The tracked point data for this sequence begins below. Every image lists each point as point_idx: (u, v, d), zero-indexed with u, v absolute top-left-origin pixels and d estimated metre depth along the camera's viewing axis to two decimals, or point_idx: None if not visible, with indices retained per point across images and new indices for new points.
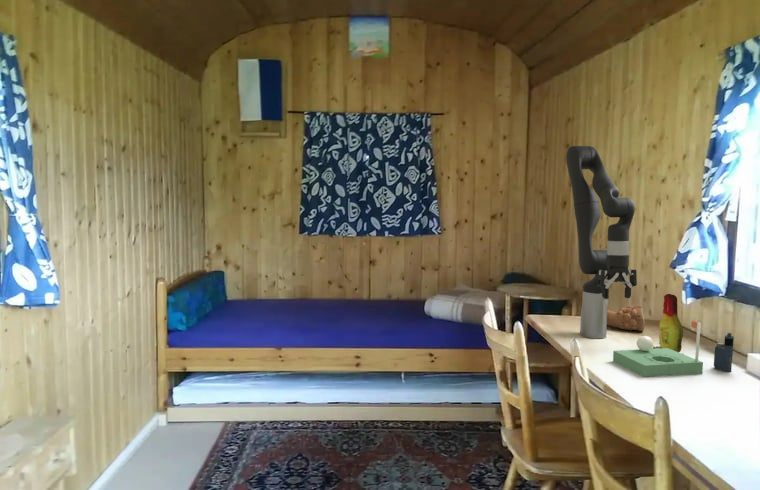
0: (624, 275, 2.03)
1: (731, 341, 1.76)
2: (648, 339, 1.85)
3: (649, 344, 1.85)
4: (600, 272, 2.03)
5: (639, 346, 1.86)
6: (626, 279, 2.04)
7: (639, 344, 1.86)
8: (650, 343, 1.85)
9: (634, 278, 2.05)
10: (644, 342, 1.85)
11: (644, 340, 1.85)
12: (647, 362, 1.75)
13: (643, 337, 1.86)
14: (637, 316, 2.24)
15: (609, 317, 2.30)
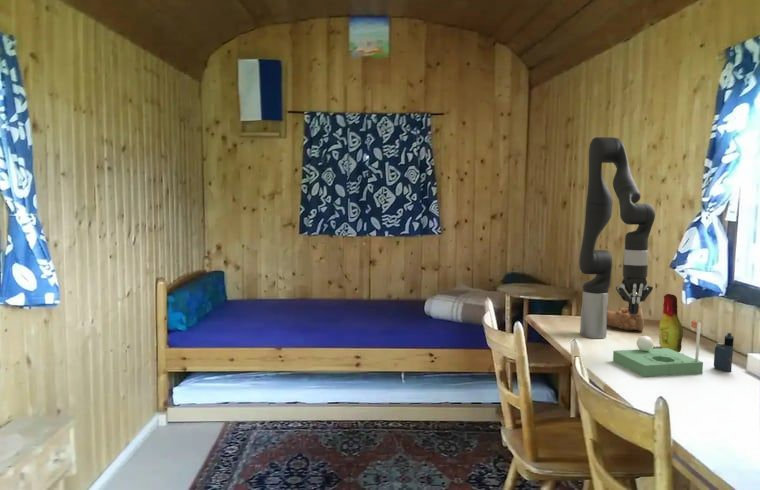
0: (641, 287, 1.90)
1: (731, 341, 1.76)
2: (648, 339, 1.85)
3: (649, 344, 1.85)
4: (619, 290, 1.91)
5: (639, 346, 1.86)
6: (639, 292, 1.91)
7: (639, 344, 1.86)
8: (650, 343, 1.85)
9: (646, 294, 1.92)
10: (644, 342, 1.85)
11: (644, 340, 1.85)
12: (647, 362, 1.75)
13: (643, 337, 1.86)
14: (636, 316, 2.25)
15: (608, 317, 2.31)
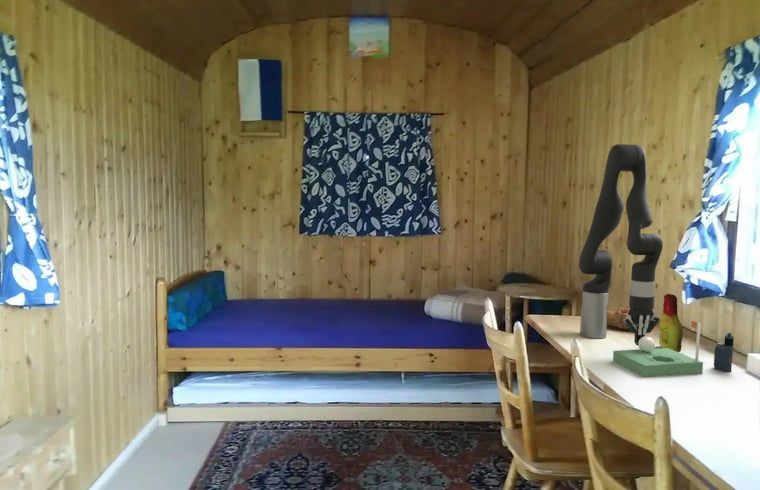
0: (647, 318, 1.87)
1: (731, 341, 1.76)
2: (650, 341, 1.84)
3: (650, 346, 1.84)
4: (625, 322, 1.88)
5: (640, 347, 1.86)
6: (646, 323, 1.88)
7: (640, 345, 1.85)
8: (652, 345, 1.84)
9: (652, 325, 1.89)
10: (646, 344, 1.84)
11: (646, 342, 1.84)
12: (647, 362, 1.75)
13: (646, 338, 1.85)
14: None
15: (608, 317, 2.31)
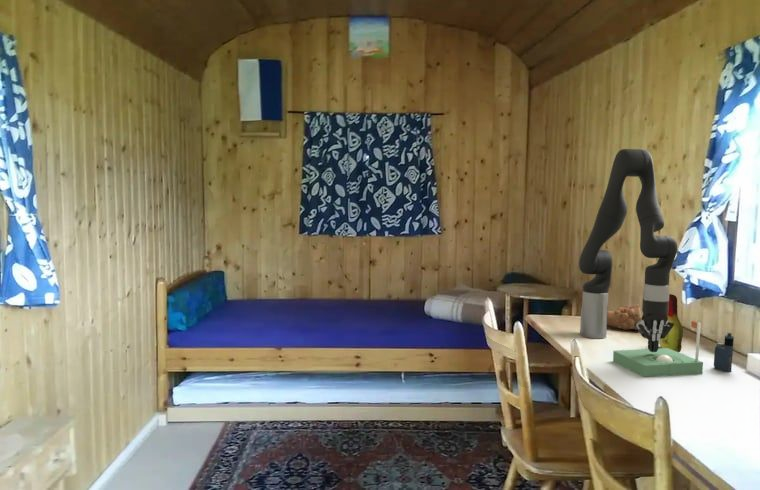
0: (661, 323, 1.81)
1: (731, 341, 1.76)
2: None
3: (661, 355, 1.79)
4: (638, 327, 1.81)
5: None
6: (660, 329, 1.81)
7: None
8: None
9: (667, 330, 1.82)
10: (657, 357, 1.79)
11: None
12: (647, 362, 1.75)
13: None
14: (635, 315, 2.25)
15: (607, 316, 2.31)
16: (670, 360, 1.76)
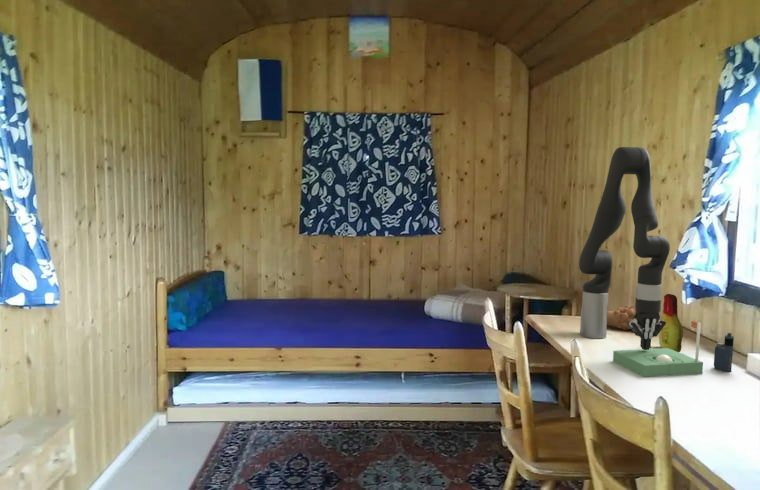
0: (654, 322, 1.84)
1: (731, 341, 1.76)
2: None
3: None
4: (631, 325, 1.85)
5: None
6: (652, 327, 1.85)
7: None
8: None
9: (659, 329, 1.86)
10: None
11: None
12: (647, 362, 1.75)
13: None
14: (634, 315, 2.25)
15: None
16: (669, 359, 1.76)
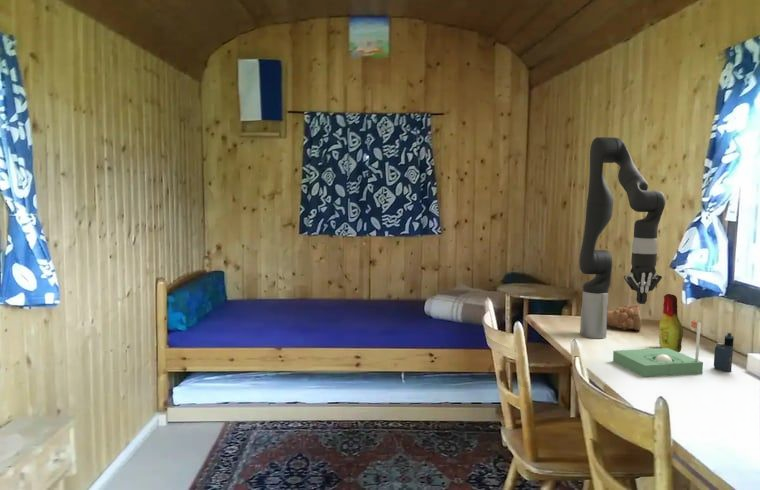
0: (650, 276, 1.86)
1: (731, 341, 1.76)
2: None
3: None
4: (627, 279, 1.86)
5: None
6: (648, 281, 1.86)
7: None
8: None
9: (655, 283, 1.88)
10: None
11: None
12: (647, 362, 1.75)
13: None
14: (634, 315, 2.26)
15: None
16: (669, 358, 1.77)
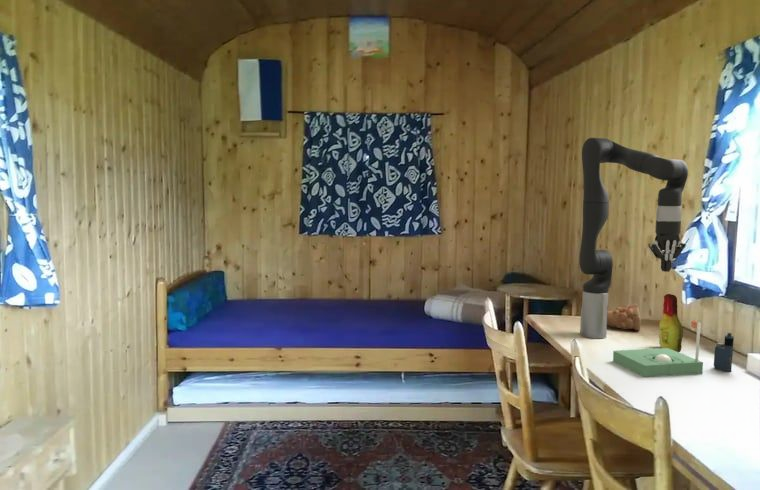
0: (674, 243, 1.89)
1: (731, 341, 1.76)
2: None
3: None
4: (652, 247, 1.89)
5: (657, 360, 1.78)
6: (672, 248, 1.89)
7: None
8: None
9: (679, 251, 1.90)
10: (655, 357, 1.80)
11: None
12: (647, 362, 1.75)
13: None
14: (633, 315, 2.26)
15: None
16: (668, 358, 1.77)
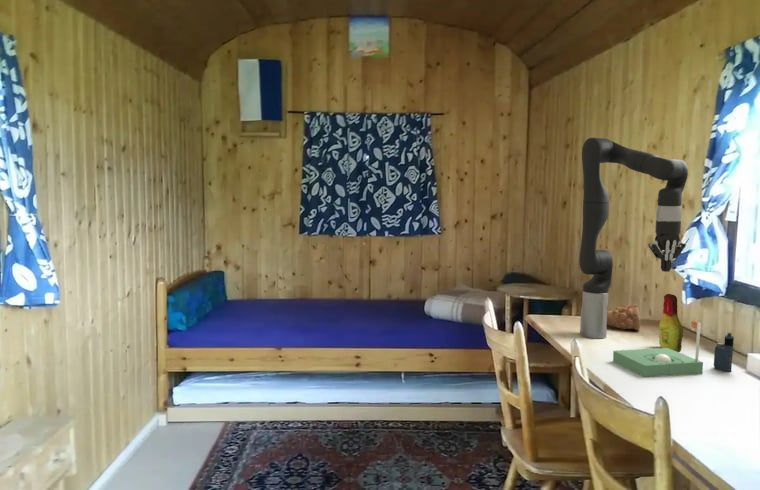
0: (674, 243, 1.89)
1: (731, 341, 1.76)
2: None
3: None
4: (652, 247, 1.89)
5: (656, 360, 1.78)
6: (672, 248, 1.89)
7: None
8: None
9: (679, 251, 1.90)
10: (654, 358, 1.80)
11: None
12: (647, 362, 1.75)
13: None
14: (633, 315, 2.26)
15: None
16: (667, 357, 1.77)
